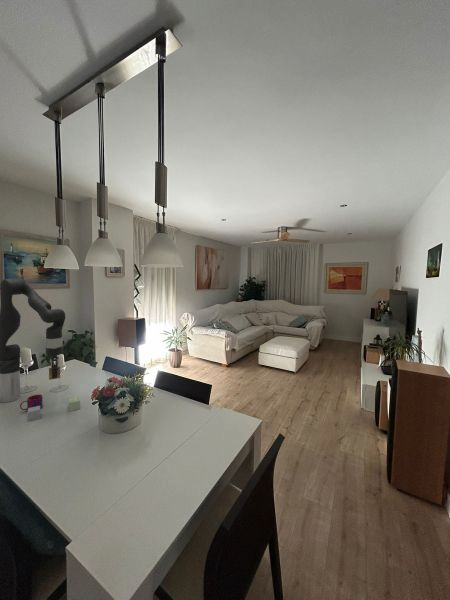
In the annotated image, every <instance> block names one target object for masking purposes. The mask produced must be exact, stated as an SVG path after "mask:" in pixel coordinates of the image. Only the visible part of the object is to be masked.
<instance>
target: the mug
mask: <svg viewBox="0 0 450 600" xmlns="http://www.w3.org/2000/svg"><path fill="white" fill-rule="evenodd" d="M23 403H26V404H27V405H26V406H27V408H22V404H23ZM36 406H40V410H41V409H43V395H42V394H33V395H30V396H29V397H27V400H24V401H21V402H20V404H19V408H20V409H21V410H23V411H28V408H32V407H36Z"/></svg>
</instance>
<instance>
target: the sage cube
mask: <svg viewBox="0 0 450 600" xmlns="http://www.w3.org/2000/svg"><path fill="white" fill-rule="evenodd" d="M80 399H81V398H80V397H79V396H78V397H74V398H70V399H68V410H69V412H72V411H78V410H80V409H81V400H80Z"/></svg>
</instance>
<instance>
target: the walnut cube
mask: <svg viewBox="0 0 450 600" xmlns="http://www.w3.org/2000/svg"><path fill="white" fill-rule="evenodd" d="M53 369H56V368H53ZM57 379H61V366H59V365H58V371H57V378H52V368H51V367H49V368H48V380H57Z"/></svg>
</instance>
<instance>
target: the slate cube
mask: <svg viewBox="0 0 450 600" xmlns="http://www.w3.org/2000/svg"><path fill="white" fill-rule="evenodd" d="M40 419H41V409H40V406H36V407H32V408H28V410H27V422H32V421H36V420H40Z"/></svg>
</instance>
